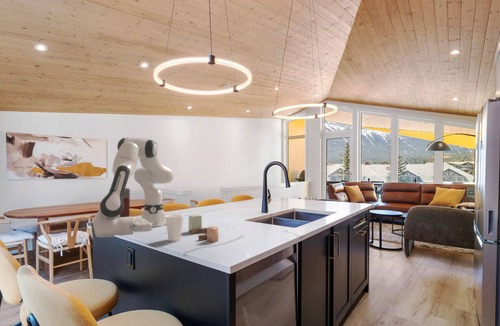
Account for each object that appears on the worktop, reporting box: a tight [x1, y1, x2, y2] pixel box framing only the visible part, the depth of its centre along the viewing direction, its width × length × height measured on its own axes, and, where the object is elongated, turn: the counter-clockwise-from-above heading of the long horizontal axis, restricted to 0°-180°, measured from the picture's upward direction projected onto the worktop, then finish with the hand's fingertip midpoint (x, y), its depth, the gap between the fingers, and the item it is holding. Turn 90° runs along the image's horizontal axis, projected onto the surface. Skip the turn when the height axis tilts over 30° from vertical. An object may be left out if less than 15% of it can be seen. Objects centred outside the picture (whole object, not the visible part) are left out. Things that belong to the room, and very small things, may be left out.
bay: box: [188, 227, 207, 241], centre depth 160 cm, size 11×16×2 cm
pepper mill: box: [120, 187, 131, 217], centre depth 203 cm, size 9×11×28 cm
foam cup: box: [165, 213, 185, 242], centre depth 151 cm, size 10×9×13 cm
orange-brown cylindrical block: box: [206, 226, 219, 243], centre depth 149 cm, size 6×6×7 cm
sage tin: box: [188, 214, 203, 231], centre depth 170 cm, size 6×6×10 cm
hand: (157, 223), depth 146 cm, fingers closed
